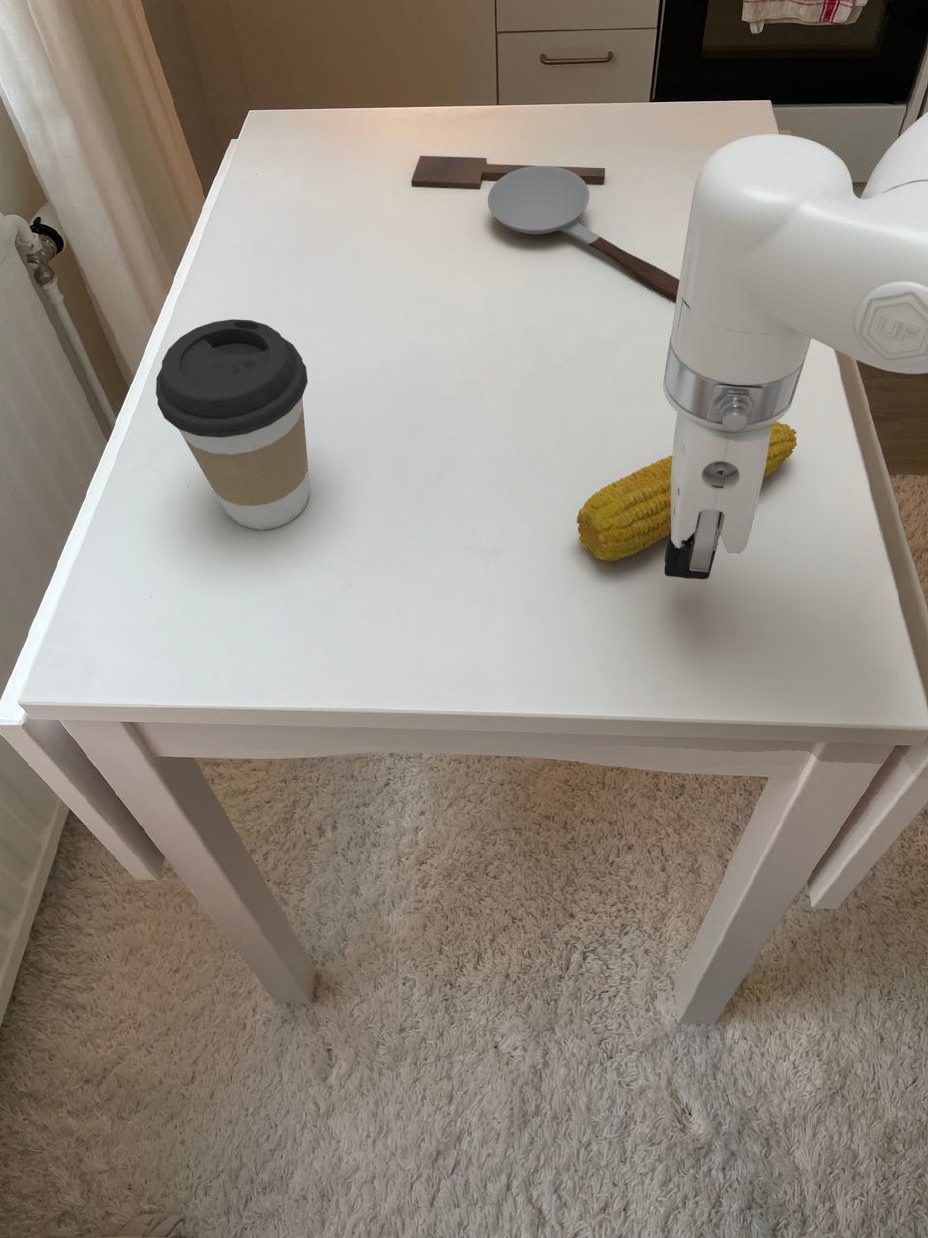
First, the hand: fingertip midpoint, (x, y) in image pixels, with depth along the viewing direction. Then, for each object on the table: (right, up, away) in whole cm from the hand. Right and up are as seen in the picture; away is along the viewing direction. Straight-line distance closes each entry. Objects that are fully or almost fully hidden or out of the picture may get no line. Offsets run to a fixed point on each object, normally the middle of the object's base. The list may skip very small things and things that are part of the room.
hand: (686, 569), depth 70 cm
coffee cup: (-33, +7, +12) cm, 36 cm away
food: (+2, +6, +9) cm, 11 cm away
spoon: (-1, +34, +30) cm, 45 cm away
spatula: (-11, +48, +41) cm, 64 cm away
